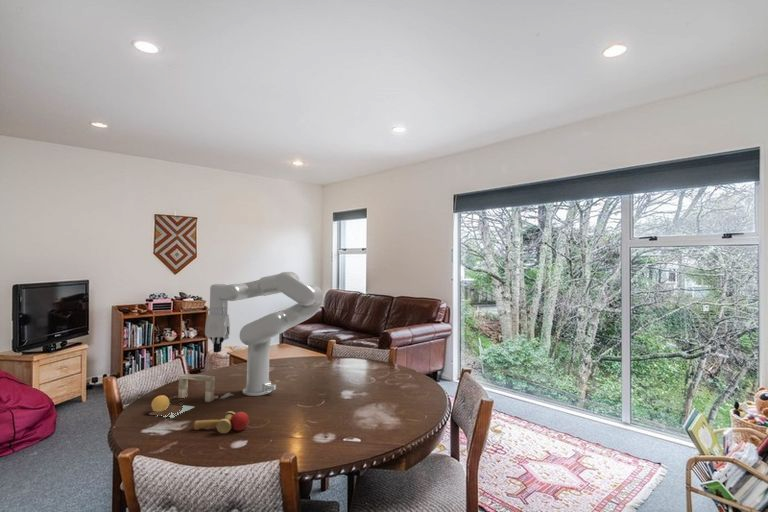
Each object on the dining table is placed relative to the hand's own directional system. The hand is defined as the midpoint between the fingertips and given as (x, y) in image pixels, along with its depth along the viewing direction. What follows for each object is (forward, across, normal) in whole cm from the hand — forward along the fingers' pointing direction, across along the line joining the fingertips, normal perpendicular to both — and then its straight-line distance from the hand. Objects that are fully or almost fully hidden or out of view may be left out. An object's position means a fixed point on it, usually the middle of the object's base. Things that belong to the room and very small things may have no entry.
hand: (217, 351), depth 177 cm
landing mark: (+17, 0, -27) cm, 32 cm away
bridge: (+17, 0, -13) cm, 21 cm away
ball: (+14, -3, -29) cm, 32 cm away
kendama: (+18, +29, -37) cm, 50 cm away
